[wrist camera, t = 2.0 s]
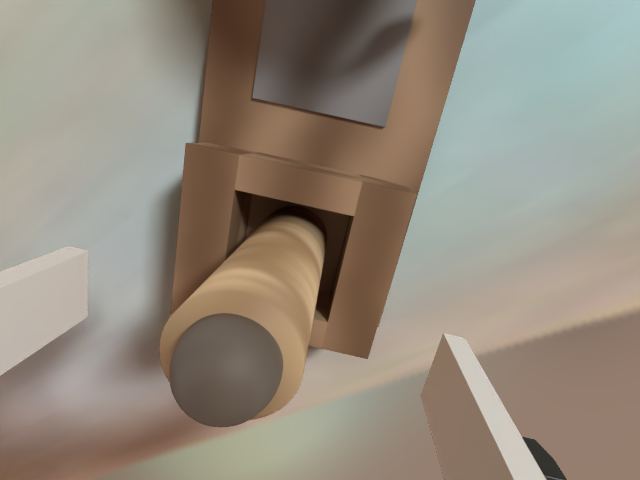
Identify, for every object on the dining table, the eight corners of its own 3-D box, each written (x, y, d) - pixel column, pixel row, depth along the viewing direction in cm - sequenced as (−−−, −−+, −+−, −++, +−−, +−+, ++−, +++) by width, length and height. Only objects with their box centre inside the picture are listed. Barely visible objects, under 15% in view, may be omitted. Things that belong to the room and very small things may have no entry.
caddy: (190, 277, 25) (154, 310, 20) (229, -86, 19) (188, -163, 14) (376, 319, 25) (384, 362, 20) (480, -32, 19) (526, -91, 14)
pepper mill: (256, 261, 23) (118, 452, 9) (267, 199, 22) (125, 308, 8) (319, 276, 23) (278, 489, 9) (333, 214, 22) (311, 351, 8)
